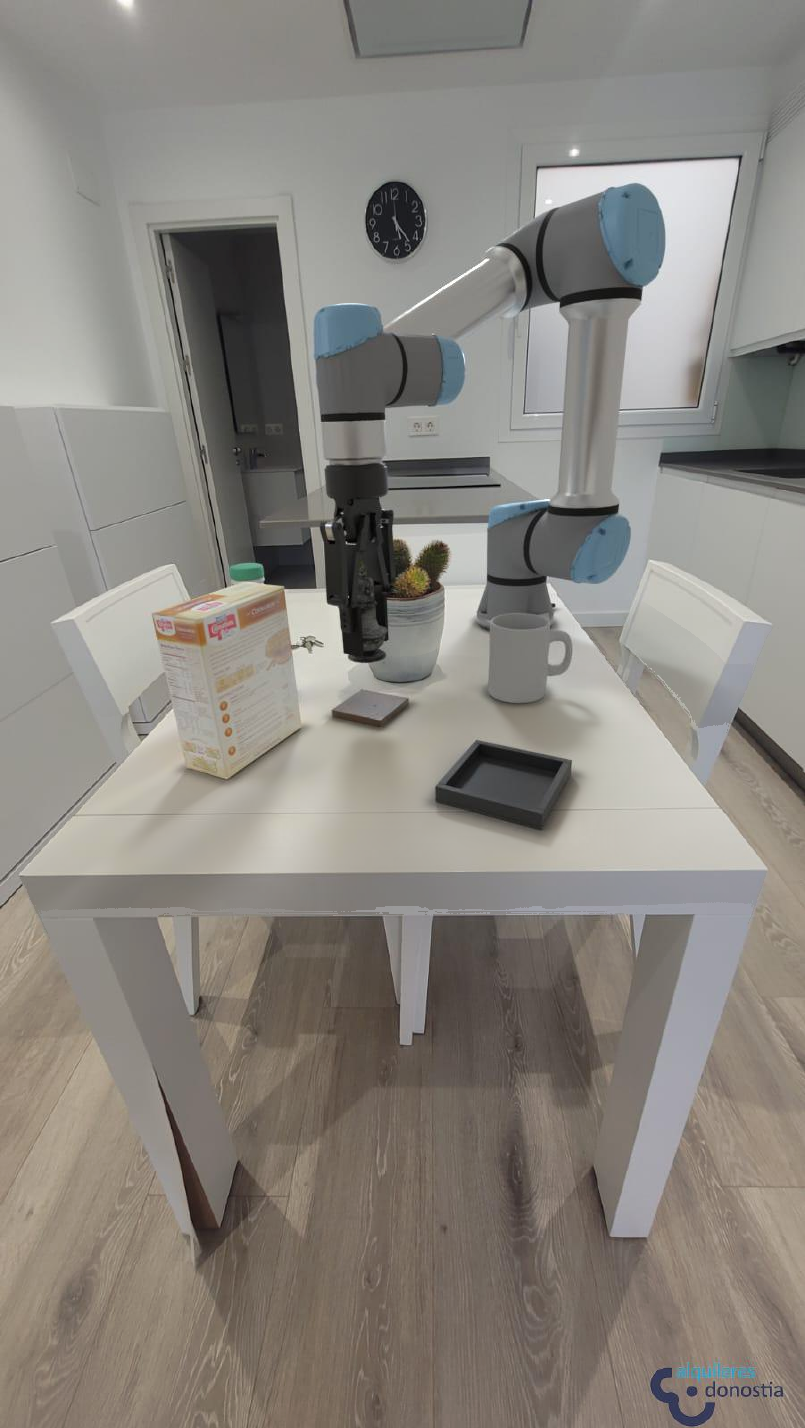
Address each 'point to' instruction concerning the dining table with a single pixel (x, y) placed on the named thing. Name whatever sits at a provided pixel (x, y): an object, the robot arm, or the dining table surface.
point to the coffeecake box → (229, 675)
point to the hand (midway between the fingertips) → (366, 646)
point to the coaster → (370, 707)
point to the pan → (505, 783)
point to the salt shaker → (369, 623)
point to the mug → (523, 657)
